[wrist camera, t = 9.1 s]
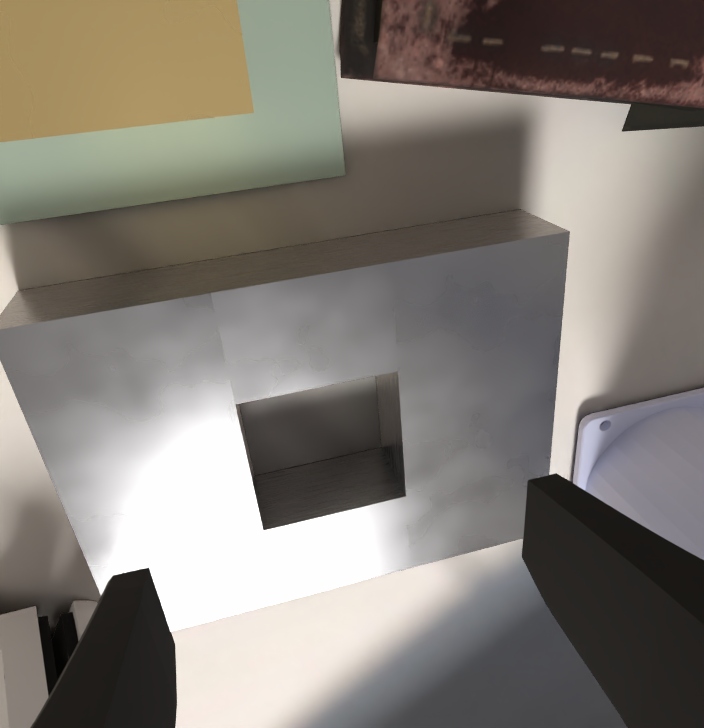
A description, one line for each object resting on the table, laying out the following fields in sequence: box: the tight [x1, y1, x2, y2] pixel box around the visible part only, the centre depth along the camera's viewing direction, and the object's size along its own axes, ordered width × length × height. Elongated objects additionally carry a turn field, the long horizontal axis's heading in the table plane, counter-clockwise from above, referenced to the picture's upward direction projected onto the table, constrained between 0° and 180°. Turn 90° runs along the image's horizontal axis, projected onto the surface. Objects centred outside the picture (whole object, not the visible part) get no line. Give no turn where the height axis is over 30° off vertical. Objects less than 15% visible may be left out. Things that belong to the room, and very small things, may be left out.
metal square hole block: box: [0, 209, 570, 631], centre depth 20 cm, size 16×12×3 cm
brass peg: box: [0, 0, 254, 142], centre depth 12 cm, size 4×4×7 cm
